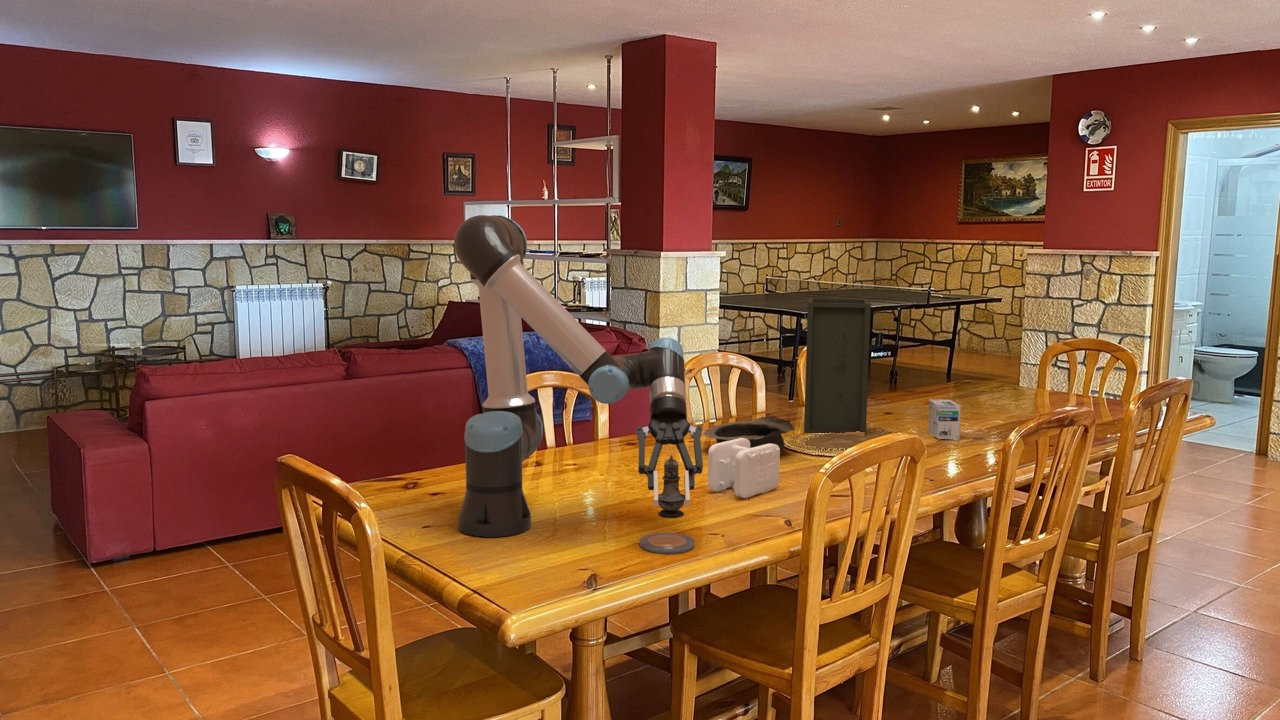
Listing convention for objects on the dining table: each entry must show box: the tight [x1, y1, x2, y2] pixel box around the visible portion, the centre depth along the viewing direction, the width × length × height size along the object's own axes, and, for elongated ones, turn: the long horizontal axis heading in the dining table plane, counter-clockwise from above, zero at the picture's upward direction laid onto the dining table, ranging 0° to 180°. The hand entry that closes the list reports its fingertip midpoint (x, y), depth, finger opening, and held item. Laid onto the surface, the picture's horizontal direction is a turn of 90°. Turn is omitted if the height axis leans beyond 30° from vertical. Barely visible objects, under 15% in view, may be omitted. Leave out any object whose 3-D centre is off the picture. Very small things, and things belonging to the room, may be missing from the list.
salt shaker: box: [657, 454, 685, 519], centre depth 191 cm, size 6×6×12 cm
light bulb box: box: [927, 398, 962, 440], centre depth 293 cm, size 11×7×11 cm, turn 179°
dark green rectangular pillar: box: [803, 298, 872, 434], centre depth 301 cm, size 18×18×40 cm
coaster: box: [639, 531, 696, 555], centre depth 193 cm, size 11×11×1 cm
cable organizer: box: [707, 438, 781, 500], centre depth 231 cm, size 15×11×12 cm
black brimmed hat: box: [702, 416, 796, 454], centre depth 271 cm, size 25×25×9 cm
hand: (671, 503), depth 188 cm, fingers closed on salt shaker, 5 cm apart
